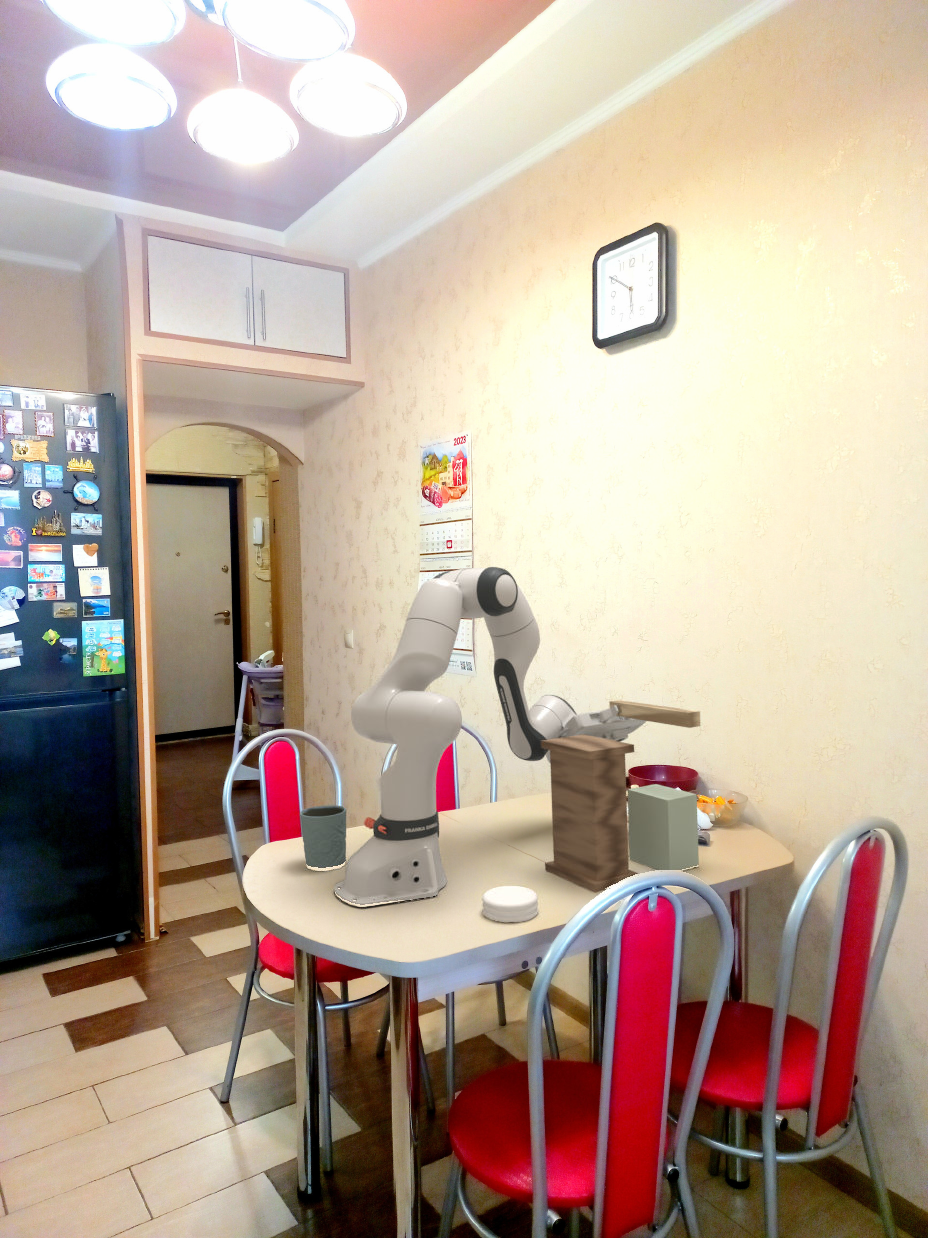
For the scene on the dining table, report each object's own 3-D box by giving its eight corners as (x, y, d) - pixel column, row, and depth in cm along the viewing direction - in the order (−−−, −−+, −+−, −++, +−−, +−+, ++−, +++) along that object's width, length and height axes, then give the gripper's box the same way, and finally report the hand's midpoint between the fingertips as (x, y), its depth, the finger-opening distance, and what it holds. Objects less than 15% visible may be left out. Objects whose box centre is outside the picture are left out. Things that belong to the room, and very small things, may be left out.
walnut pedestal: (594, 892, 158) (589, 751, 157) (545, 870, 171) (540, 740, 171) (638, 880, 163) (634, 744, 162) (587, 860, 177) (583, 734, 176)
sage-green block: (670, 874, 166) (667, 800, 166) (629, 859, 176) (627, 789, 176) (698, 866, 170) (696, 794, 170) (657, 852, 180) (655, 784, 180)
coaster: (549, 912, 149) (548, 893, 149) (512, 929, 142) (511, 909, 142) (508, 899, 156) (508, 881, 156) (471, 915, 149) (470, 895, 149)
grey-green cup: (327, 875, 173) (325, 818, 173) (291, 868, 178) (289, 813, 178) (358, 861, 182) (356, 807, 181) (323, 855, 187) (320, 802, 187)
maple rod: (689, 727, 163) (689, 712, 163) (609, 715, 184) (609, 701, 184) (700, 726, 165) (700, 711, 164) (620, 713, 185) (619, 700, 185)
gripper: (551, 724, 188) (583, 698, 177) (620, 714, 198) (655, 690, 188) (560, 750, 185) (593, 725, 175) (630, 739, 196) (665, 715, 185)
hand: (626, 707), depth 181 cm, fingers closed on maple rod, 3 cm apart
